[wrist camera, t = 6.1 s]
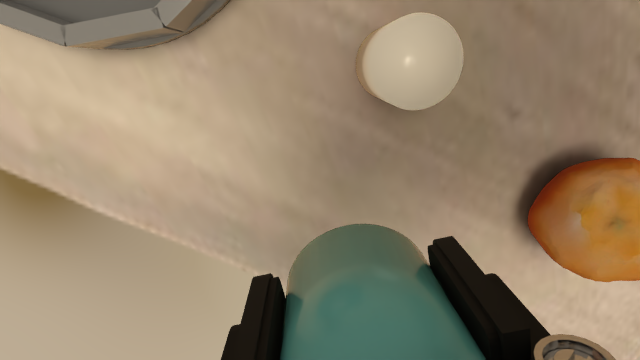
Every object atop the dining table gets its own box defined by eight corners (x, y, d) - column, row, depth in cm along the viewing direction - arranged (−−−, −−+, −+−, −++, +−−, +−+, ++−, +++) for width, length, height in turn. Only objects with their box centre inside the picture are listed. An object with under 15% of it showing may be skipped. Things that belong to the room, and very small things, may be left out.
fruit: (600, 285, 27) (642, 325, 20) (505, 222, 30) (512, 237, 23) (680, 200, 25) (759, 210, 18) (571, 141, 28) (602, 129, 21)
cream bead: (422, 19, 23) (460, 3, 17) (428, 92, 24) (465, 101, 18) (350, 33, 23) (365, 22, 17) (360, 105, 24) (377, 117, 18)
